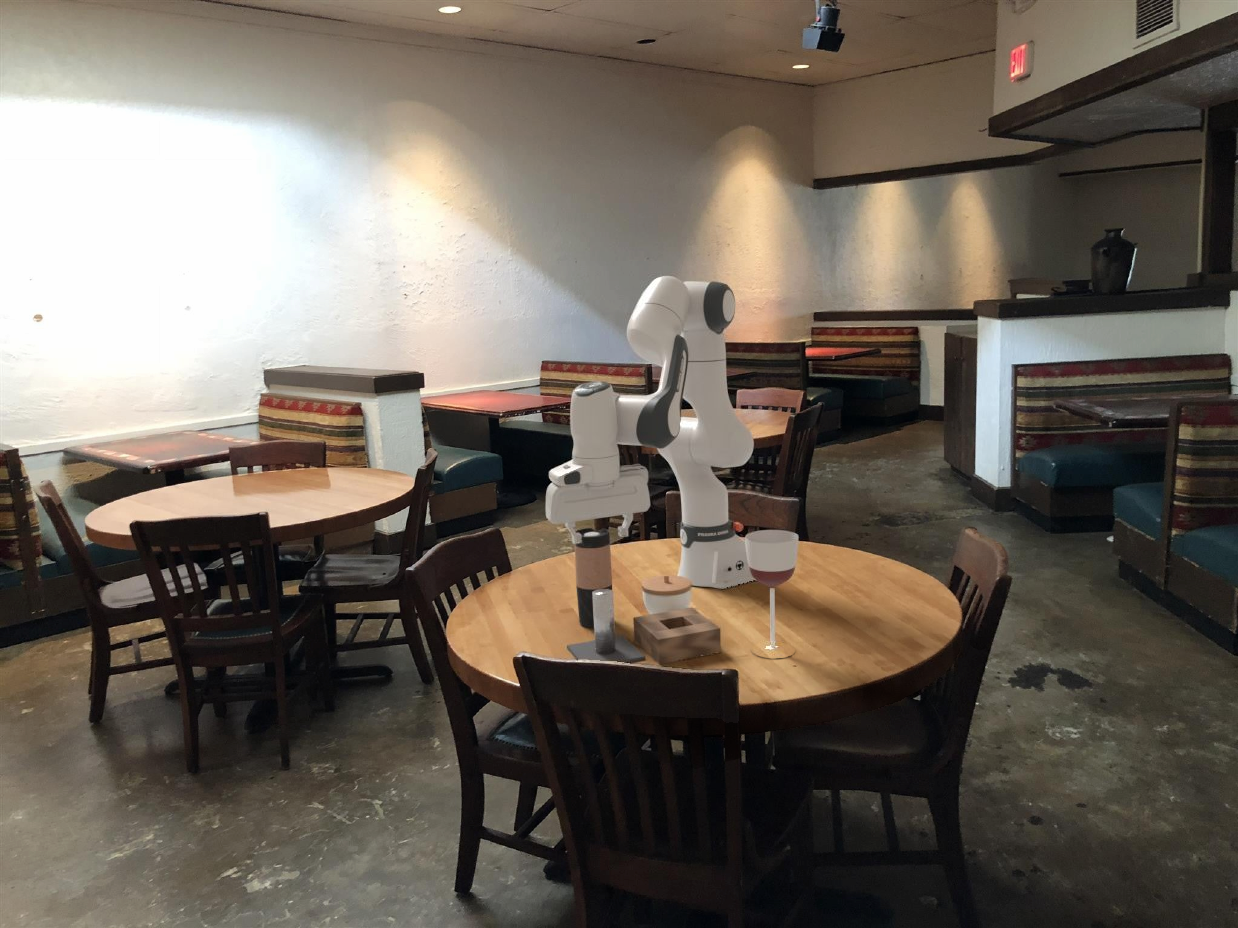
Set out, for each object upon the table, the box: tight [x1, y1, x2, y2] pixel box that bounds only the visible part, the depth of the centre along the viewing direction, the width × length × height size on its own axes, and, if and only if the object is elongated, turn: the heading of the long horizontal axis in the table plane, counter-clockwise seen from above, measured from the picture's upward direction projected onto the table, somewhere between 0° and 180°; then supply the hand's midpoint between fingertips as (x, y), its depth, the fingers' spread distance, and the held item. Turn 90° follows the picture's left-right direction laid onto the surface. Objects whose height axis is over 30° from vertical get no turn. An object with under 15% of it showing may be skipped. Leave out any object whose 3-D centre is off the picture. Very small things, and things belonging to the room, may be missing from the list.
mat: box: [566, 634, 646, 663], centre depth 184 cm, size 12×12×1 cm
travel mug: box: [574, 527, 613, 629], centre depth 199 cm, size 8×8×20 cm
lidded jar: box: [641, 574, 693, 615], centre depth 201 cm, size 11×11×9 cm
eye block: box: [632, 607, 722, 665], centre depth 185 cm, size 13×13×5 cm
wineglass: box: [744, 529, 799, 650], centre depth 179 cm, size 9×10×23 cm
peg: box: [592, 589, 616, 655], centre depth 182 cm, size 4×4×12 cm
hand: (600, 539), depth 179 cm, fingers open, 8 cm apart
